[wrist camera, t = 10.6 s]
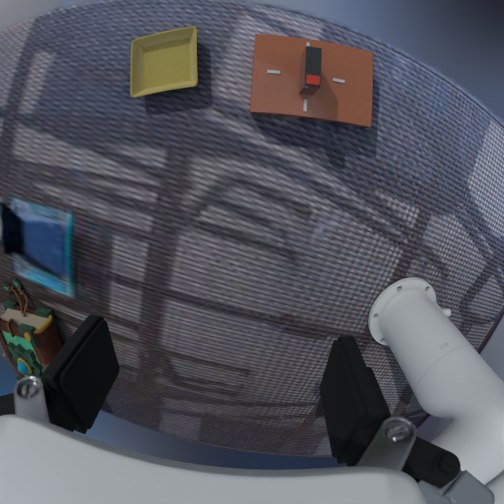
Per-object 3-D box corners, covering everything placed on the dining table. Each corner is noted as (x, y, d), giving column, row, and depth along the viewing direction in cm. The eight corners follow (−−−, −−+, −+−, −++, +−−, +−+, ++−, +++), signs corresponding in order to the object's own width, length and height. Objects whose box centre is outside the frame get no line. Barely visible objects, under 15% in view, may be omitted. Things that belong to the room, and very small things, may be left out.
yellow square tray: (136, 100, 30) (130, 98, 28) (137, 44, 27) (131, 39, 25) (201, 89, 30) (197, 86, 28) (200, 31, 27) (196, 25, 25)
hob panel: (364, 58, 27) (373, 51, 24) (362, 128, 31) (371, 127, 28) (255, 42, 27) (255, 33, 24) (250, 115, 31) (249, 111, 28)
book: (-9, 272, 40) (-38, 293, 31) (50, 281, 40) (17, 309, 30) (28, 366, 49) (9, 390, 40) (89, 387, 49) (71, 418, 40)
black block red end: (300, 57, 25) (306, 44, 21) (314, 59, 25) (322, 47, 21) (298, 93, 27) (304, 85, 23) (312, 94, 27) (320, 87, 23)
